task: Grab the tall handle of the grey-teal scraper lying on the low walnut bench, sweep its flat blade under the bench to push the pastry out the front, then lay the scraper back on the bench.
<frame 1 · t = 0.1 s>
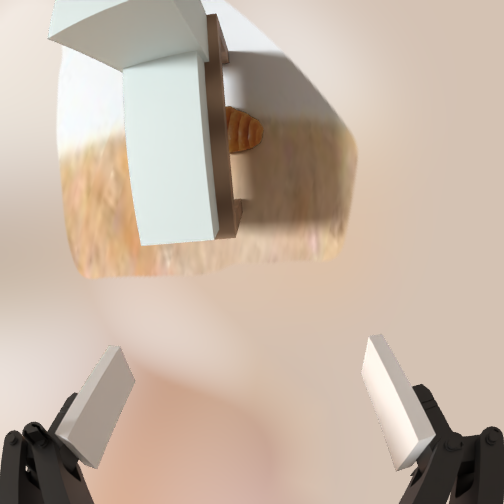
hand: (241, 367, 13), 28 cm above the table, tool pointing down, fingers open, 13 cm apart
pastry: (223, 129, 35), on the table
scraper: (168, 44, 21), point 12 cm above the table, touching bench
bench: (198, 132, 35), on the table
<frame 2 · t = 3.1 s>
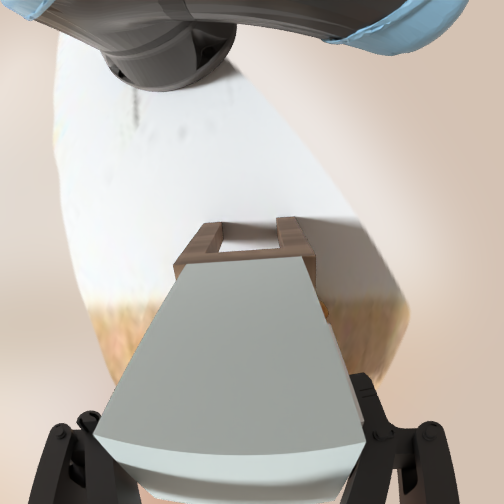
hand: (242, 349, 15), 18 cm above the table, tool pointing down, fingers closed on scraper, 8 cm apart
scraper: (246, 298, 20), point 12 cm above the table, touching bench, gripper
bench: (257, 313, 34), on the table
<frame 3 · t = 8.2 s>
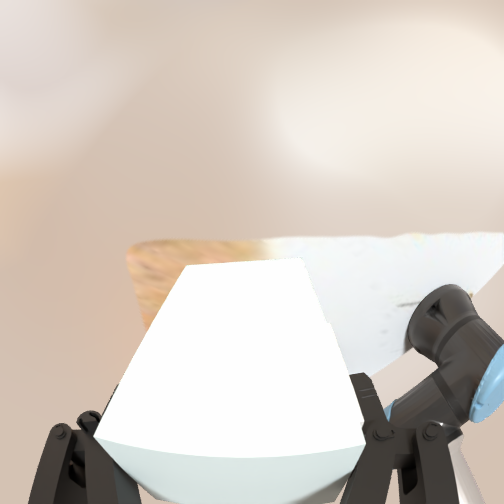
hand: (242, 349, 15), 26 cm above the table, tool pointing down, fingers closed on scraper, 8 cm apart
scraper: (246, 300, 20), point 20 cm above the table, touching gripper
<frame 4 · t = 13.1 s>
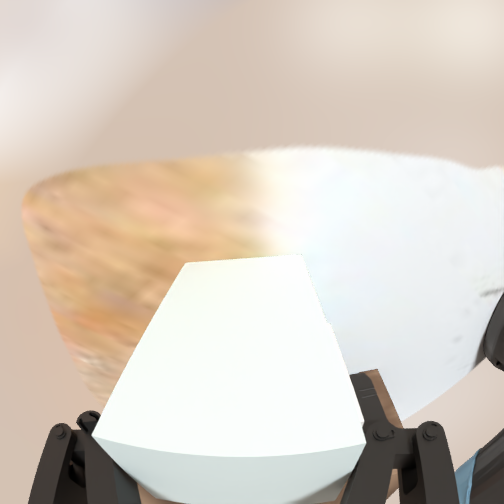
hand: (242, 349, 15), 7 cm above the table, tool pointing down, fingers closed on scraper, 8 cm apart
scraper: (246, 297, 20), point 1 cm above the table, touching gripper, pastry
bench: (261, 413, 26), on the table
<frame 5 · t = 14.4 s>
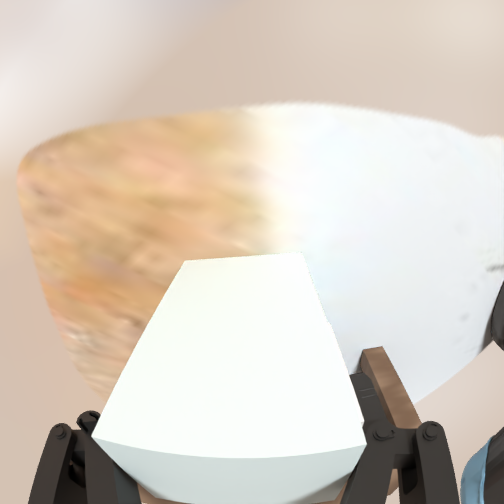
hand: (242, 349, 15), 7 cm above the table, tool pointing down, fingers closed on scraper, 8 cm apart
scraper: (246, 295, 20), point 1 cm above the table, touching gripper
bench: (258, 395, 25), on the table
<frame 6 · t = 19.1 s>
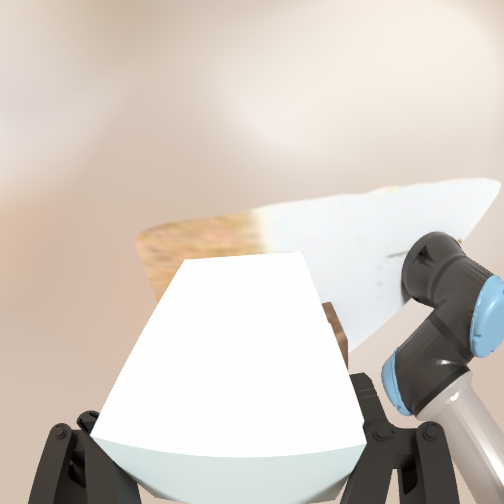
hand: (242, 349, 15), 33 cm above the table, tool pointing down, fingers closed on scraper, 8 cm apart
scraper: (246, 294, 20), point 27 cm above the table, touching gripper
bench: (273, 334, 54), on the table
when the fingers open (19 cm above the table, at t = 23.7 s): scraper drops 2 cm, resting on bench.
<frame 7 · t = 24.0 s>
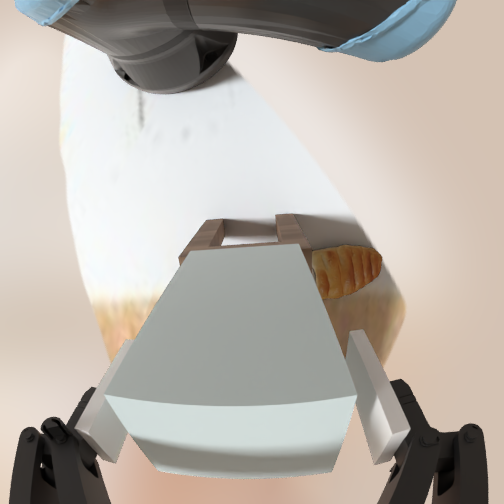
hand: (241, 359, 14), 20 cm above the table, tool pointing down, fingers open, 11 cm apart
pastry: (338, 264, 34), on the table
scraper: (247, 284, 21), point 12 cm above the table, touching bench
bench: (257, 307, 36), on the table
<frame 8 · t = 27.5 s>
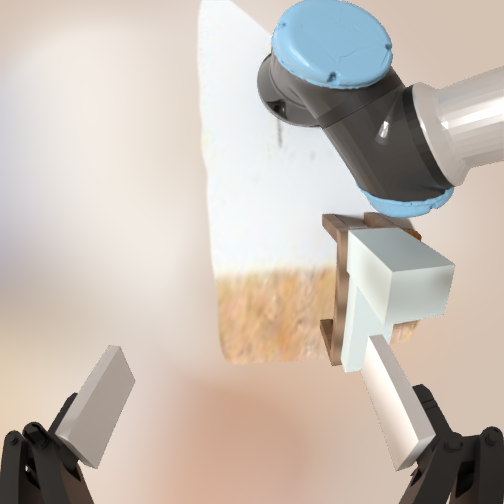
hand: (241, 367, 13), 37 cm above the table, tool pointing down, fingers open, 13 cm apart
scraper: (373, 249, 37), point 12 cm above the table, touching bench
bench: (346, 274, 51), on the table
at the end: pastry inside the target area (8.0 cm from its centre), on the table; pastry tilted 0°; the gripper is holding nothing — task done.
